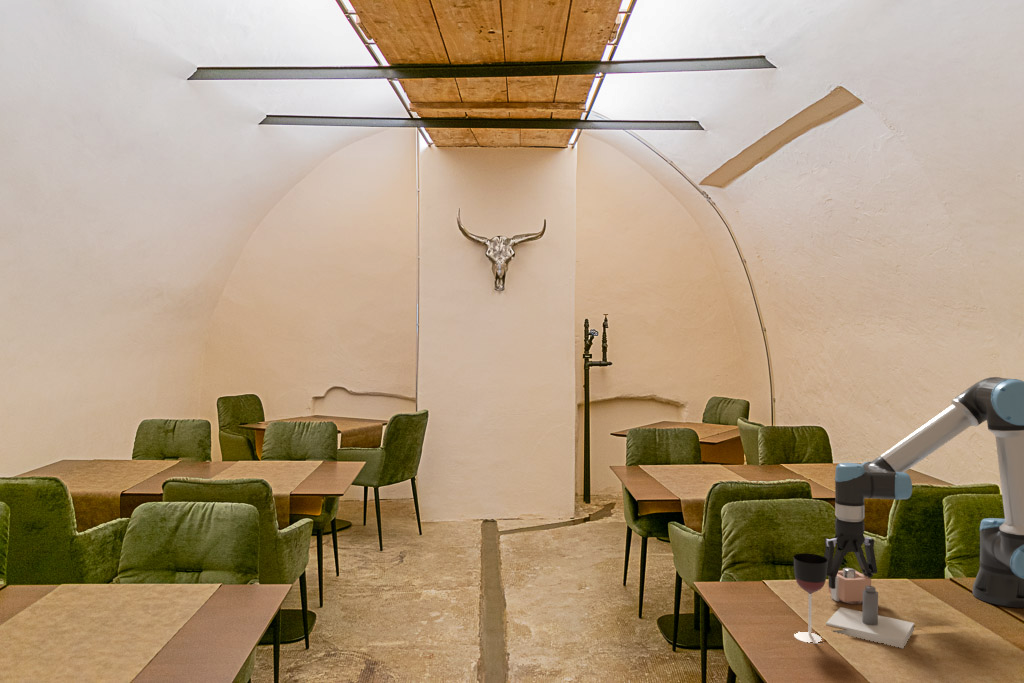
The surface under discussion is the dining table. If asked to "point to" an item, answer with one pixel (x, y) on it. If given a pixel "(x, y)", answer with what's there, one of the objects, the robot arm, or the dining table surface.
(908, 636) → the base plate with rod
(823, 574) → the wineglass
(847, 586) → the collar
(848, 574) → the stand
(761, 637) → the dining table surface
